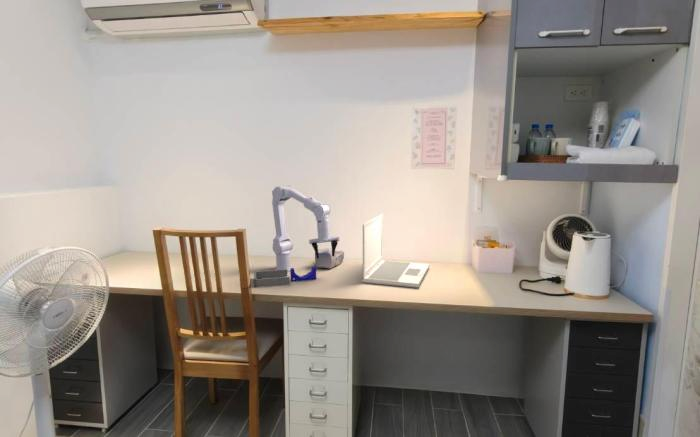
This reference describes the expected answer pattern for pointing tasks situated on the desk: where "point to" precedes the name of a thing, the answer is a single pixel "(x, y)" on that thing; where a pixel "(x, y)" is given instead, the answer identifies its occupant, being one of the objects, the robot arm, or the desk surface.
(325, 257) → the grey rounded block
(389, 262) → the laptop
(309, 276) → the cable clip
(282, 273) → the box
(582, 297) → the desk surface
